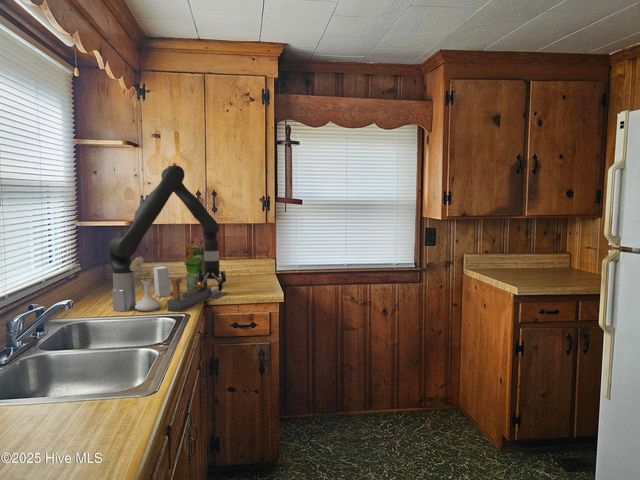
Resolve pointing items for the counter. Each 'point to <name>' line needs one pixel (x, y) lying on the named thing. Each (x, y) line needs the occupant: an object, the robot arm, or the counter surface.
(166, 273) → the skincare box
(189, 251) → the green plant in glass
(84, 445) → the counter surface
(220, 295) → the rubber mat
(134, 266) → the flower in vase
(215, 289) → the lever cap
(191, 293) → the hand plane
